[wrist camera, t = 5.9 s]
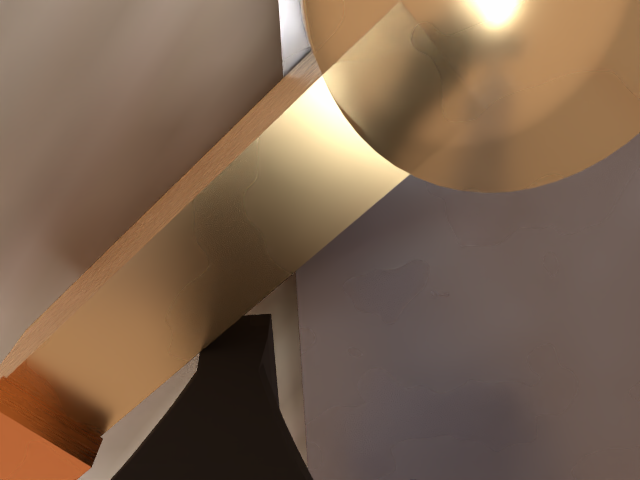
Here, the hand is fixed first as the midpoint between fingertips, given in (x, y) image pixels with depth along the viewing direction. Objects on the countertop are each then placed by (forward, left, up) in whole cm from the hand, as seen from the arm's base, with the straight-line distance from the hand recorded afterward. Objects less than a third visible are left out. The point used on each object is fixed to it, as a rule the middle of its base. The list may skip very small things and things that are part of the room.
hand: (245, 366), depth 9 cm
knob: (+3, -1, -1) cm, 4 cm away
